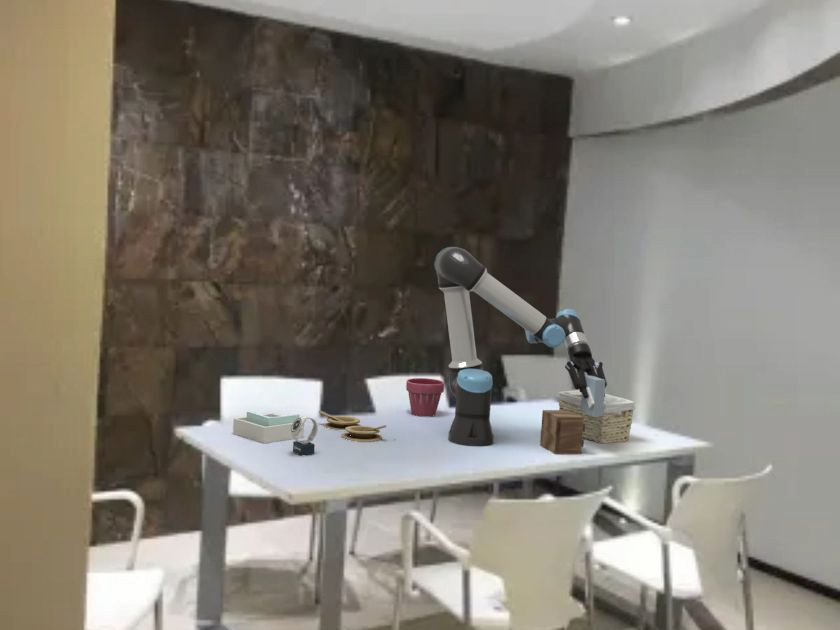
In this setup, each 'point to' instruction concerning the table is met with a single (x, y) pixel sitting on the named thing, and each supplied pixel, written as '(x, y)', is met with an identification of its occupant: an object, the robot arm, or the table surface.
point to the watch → (306, 445)
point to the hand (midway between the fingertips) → (597, 405)
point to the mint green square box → (270, 419)
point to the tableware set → (353, 428)
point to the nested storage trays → (263, 430)
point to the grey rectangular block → (594, 396)
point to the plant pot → (424, 395)
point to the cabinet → (562, 432)
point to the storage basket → (601, 417)
